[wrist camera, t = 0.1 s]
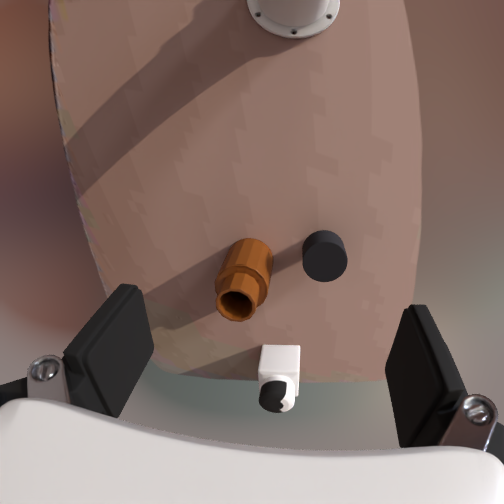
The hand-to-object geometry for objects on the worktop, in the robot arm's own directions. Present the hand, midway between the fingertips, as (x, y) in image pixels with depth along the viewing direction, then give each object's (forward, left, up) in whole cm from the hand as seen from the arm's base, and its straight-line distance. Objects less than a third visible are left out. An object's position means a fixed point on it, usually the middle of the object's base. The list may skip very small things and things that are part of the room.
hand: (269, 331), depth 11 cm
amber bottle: (+16, -6, -37) cm, 41 cm away
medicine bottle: (+37, 0, -37) cm, 52 cm away
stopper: (+12, +5, -37) cm, 39 cm away
